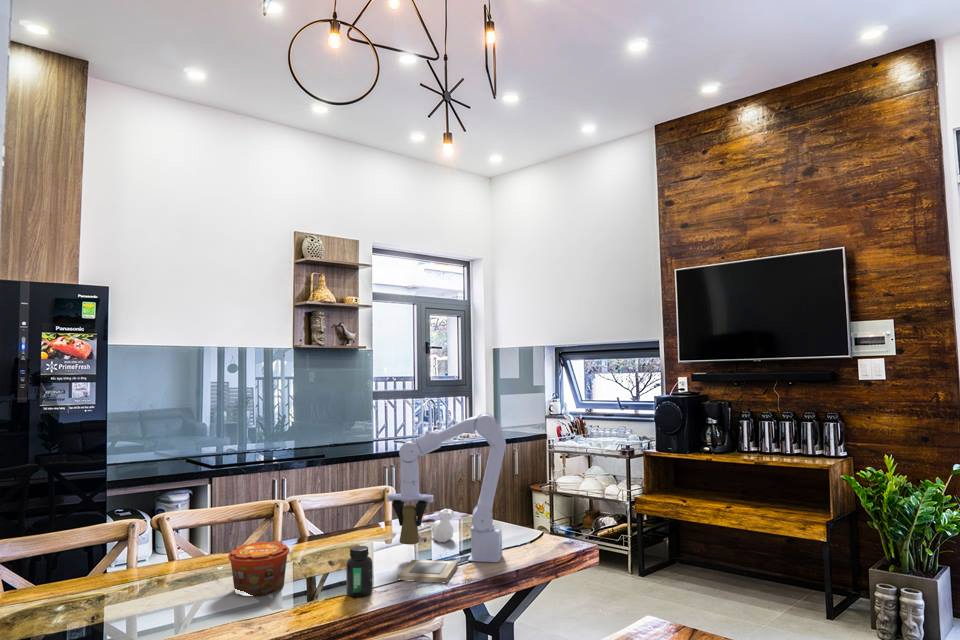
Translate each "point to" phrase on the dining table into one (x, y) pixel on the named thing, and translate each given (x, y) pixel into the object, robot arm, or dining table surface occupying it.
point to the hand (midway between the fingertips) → (410, 525)
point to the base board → (428, 571)
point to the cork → (409, 525)
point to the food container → (259, 567)
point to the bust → (443, 526)
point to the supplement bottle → (359, 573)
